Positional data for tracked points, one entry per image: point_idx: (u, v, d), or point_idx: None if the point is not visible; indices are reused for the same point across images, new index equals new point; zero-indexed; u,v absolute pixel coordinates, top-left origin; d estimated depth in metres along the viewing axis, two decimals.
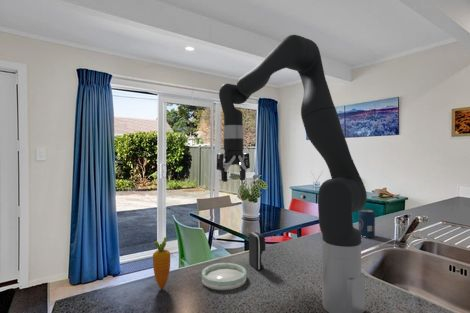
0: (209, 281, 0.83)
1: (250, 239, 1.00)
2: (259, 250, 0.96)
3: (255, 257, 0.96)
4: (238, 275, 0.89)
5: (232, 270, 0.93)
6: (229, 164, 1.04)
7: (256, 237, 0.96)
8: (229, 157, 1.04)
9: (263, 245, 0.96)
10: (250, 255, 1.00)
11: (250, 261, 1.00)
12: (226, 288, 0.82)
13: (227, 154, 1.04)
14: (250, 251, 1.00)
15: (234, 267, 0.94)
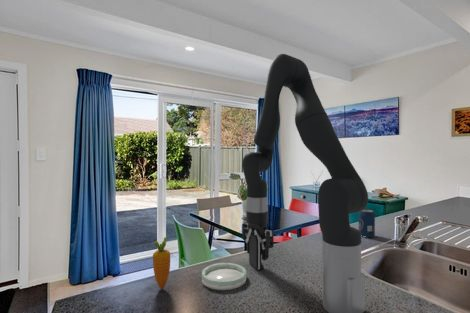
0: (209, 281, 0.83)
1: (250, 239, 1.00)
2: (259, 250, 0.96)
3: (255, 257, 0.96)
4: (238, 275, 0.89)
5: (232, 270, 0.93)
6: None
7: (256, 237, 0.96)
8: None
9: None
10: (250, 255, 1.00)
11: (250, 261, 1.00)
12: (226, 288, 0.82)
13: None
14: (250, 251, 1.00)
15: (234, 267, 0.94)
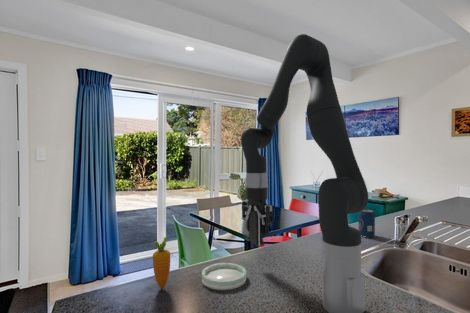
0: (209, 281, 0.83)
1: (250, 216, 0.99)
2: (260, 226, 0.95)
3: (255, 233, 0.96)
4: (238, 275, 0.89)
5: (232, 270, 0.93)
6: None
7: (256, 213, 0.96)
8: None
9: None
10: (250, 232, 0.99)
11: (250, 238, 0.99)
12: (226, 288, 0.82)
13: None
14: (250, 228, 0.99)
15: (234, 267, 0.94)
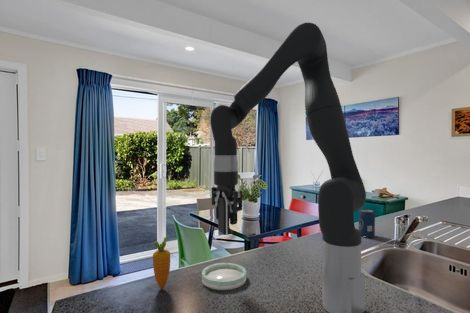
0: (209, 281, 0.83)
1: (219, 202, 0.91)
2: (227, 214, 0.86)
3: (222, 221, 0.87)
4: (238, 275, 0.89)
5: (232, 270, 0.93)
6: None
7: (224, 199, 0.87)
8: None
9: None
10: (219, 221, 0.91)
11: (219, 227, 0.91)
12: (226, 288, 0.82)
13: None
14: (219, 216, 0.90)
15: (234, 267, 0.94)
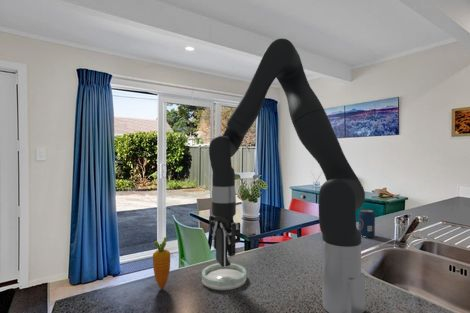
0: (209, 281, 0.83)
1: (217, 232, 0.90)
2: (225, 245, 0.86)
3: (220, 253, 0.86)
4: (238, 275, 0.89)
5: (232, 270, 0.93)
6: None
7: (222, 230, 0.86)
8: None
9: None
10: (217, 251, 0.90)
11: (217, 257, 0.90)
12: (226, 288, 0.82)
13: None
14: (217, 246, 0.90)
15: (234, 267, 0.94)
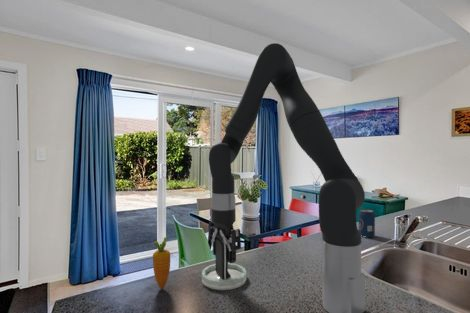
0: (209, 281, 0.83)
1: (216, 245, 0.90)
2: (226, 258, 0.86)
3: (221, 265, 0.87)
4: (238, 275, 0.89)
5: (232, 270, 0.93)
6: None
7: (222, 243, 0.86)
8: None
9: None
10: (216, 263, 0.90)
11: (216, 270, 0.90)
12: (226, 288, 0.82)
13: None
14: (217, 259, 0.90)
15: (234, 267, 0.94)
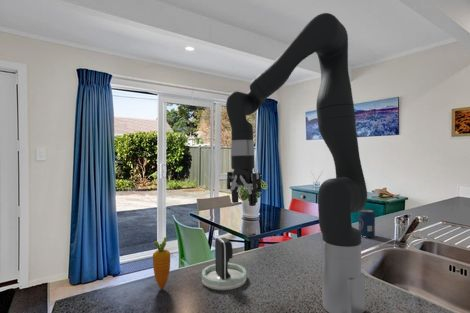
0: (209, 281, 0.83)
1: (216, 245, 0.90)
2: (226, 258, 0.86)
3: (220, 265, 0.87)
4: (238, 275, 0.89)
5: (232, 270, 0.93)
6: None
7: (222, 243, 0.86)
8: None
9: (230, 252, 0.86)
10: (216, 263, 0.90)
11: (216, 270, 0.90)
12: (226, 288, 0.82)
13: None
14: (217, 259, 0.90)
15: (234, 267, 0.94)
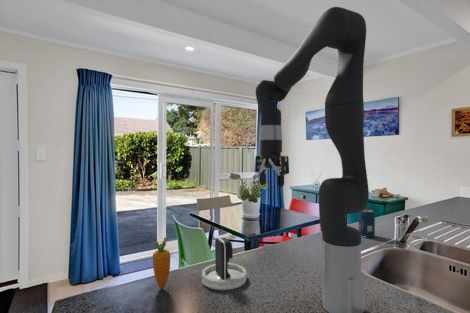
0: (209, 281, 0.83)
1: (216, 245, 0.90)
2: (226, 258, 0.86)
3: (220, 265, 0.87)
4: (238, 275, 0.89)
5: (232, 270, 0.93)
6: None
7: (222, 243, 0.86)
8: None
9: (230, 252, 0.86)
10: (216, 263, 0.90)
11: (216, 270, 0.90)
12: (226, 288, 0.82)
13: None
14: (217, 259, 0.90)
15: (234, 267, 0.94)
